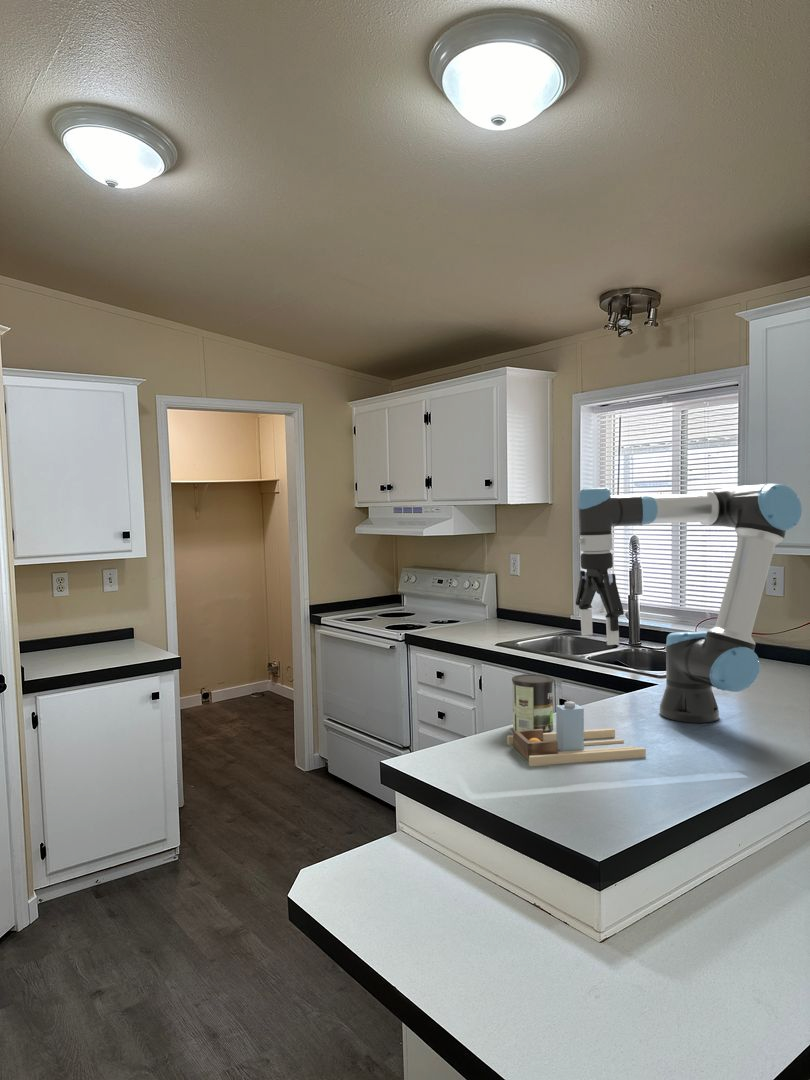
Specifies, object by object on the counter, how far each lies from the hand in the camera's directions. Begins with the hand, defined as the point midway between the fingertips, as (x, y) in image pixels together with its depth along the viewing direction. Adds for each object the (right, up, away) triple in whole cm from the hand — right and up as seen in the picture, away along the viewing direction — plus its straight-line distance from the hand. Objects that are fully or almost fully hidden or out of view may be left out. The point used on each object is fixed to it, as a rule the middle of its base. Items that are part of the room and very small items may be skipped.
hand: (599, 639), depth 176 cm
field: (-8, -26, -8) cm, 28 cm away
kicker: (-9, -24, -8) cm, 27 cm away
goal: (-17, -25, -10) cm, 32 cm away
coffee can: (-15, -25, +9) cm, 30 cm away
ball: (-18, -23, -10) cm, 31 cm away
